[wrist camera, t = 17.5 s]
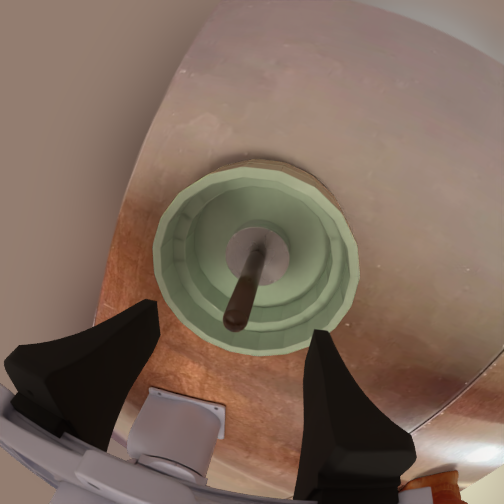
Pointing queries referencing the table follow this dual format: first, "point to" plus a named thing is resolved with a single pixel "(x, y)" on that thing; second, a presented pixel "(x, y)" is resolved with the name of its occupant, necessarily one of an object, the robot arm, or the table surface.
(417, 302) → the table surface
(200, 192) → the bowl
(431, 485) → the ceramic vessel
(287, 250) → the peg on round base
